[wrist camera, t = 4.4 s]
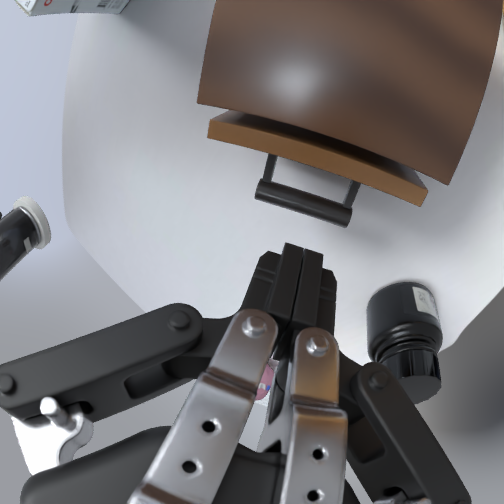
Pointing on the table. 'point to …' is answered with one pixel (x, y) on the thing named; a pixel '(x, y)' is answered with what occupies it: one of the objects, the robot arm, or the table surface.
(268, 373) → the video game controller
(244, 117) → the drawer
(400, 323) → the ink bottle
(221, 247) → the table surface
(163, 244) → the table surface
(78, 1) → the ink box
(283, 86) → the cabinet
